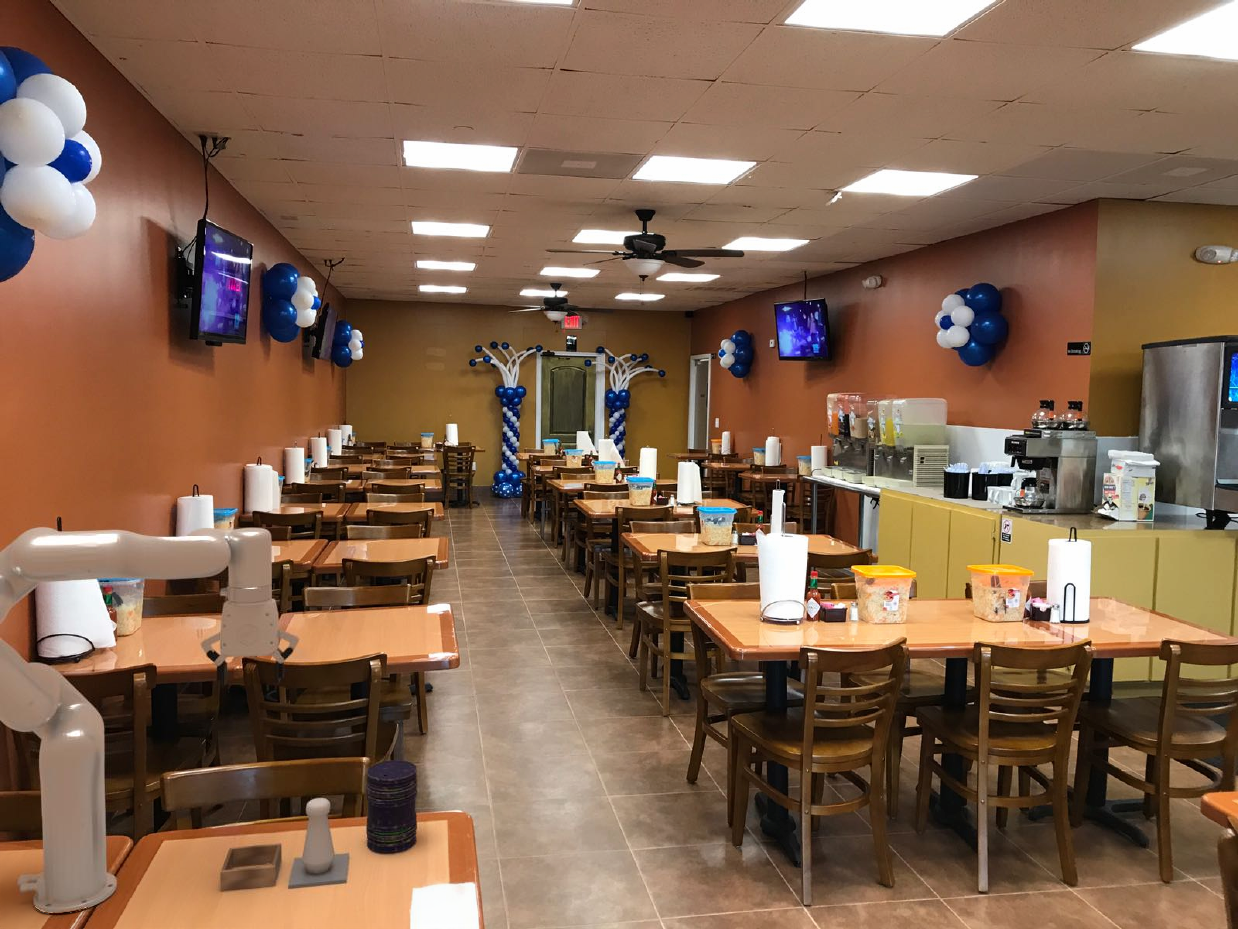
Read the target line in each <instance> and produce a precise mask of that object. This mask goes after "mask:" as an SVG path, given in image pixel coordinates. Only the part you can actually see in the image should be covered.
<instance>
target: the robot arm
mask: <svg viewBox="0 0 1238 929" xmlns="http://www.w3.org/2000/svg"><path fill="white" fill-rule="evenodd" d="M272 553H273V552H272V534H271V532H270V531H269V530H268V529H266V528H262V527H243V528H237V529H226V528H225V529H224V528H223V529H222V528H211V527H201V528H197V529H194V530H193V531H191V532H189V533H188V534H187V535H186V536H155V535H154V536H153V535H145V534H144V535H143V534H139V533H136V532H134V531H133V532H132V531H129V530H122V529H105V530H104V529H102V530H100V529H99V530H97V529H96V530H79V531H78V530H75V531H74V530H73V531H66V530H65V531H59V530H57V529H54V528H52V527H47V526H42V527H41V526H39V527H35V528H30V529H28V530H26V531H25V532H23V533H21V534H19V536H18V537H16V539H14V540H13V541H12V542H11V543H10V544H8V545H7V546H6V547H5V548H4V549H3V550H1V552H0V625H1V624H2V623H3V622H4V621H5V619H6V617H7V616H8V614H9V612H10V611H11V609H12V608H13V607H14V606H15V605H16V604H18V603H19V602H20V601H21V600H22V599H23V598H25V597H26V596H27V595H29V593H31V592H32V591H33V590H34V589H35V588H37V587H38V586H39V585H40V584H41V583H49V582H50V583H52V582H69V581H85V580H89V581H90V580H105V579H124V580H125V579H126V580H181V579H196V578H197V579H198V578H199V579H200V578H207V577H213V576H216V575H218V574H220V573H222V572H223V571H224V570H225V569H226V568H227V567H228V586H227V587H224V588H220V591H219V593H220V594H219V595H220V596H221V597H226V598H227V600H226V601H225V602H224V603H223V607H222V614H221V621H220V632H219V631H218V632H217V633H215V634H213V635H211V636H209V637H207V638H205V639H204V640H202V641H201V643H200V646H201V649H202V650H203V652H204V653H205V655H206V657H207V658H208V659H209V660H210V661H211V662H213V663H214V665H215V666H216V682H219V686H220V688H221V687H225V686H226V685H227V683H228V662H227V661H226V659H227V658H229V657H230V658H232V657H233V658H239V657H260V656H261V657H262V656H272V658H274V660H275V663H274V684H276V685H279V684H280V683H281V680H282V679H284V678H285V661H286V660H287V659H288V658H289V657H290V656H291V655H292V654H293V652H294V651H295V649H296V648H297V645H298V643H299V642H300V638H299V636H297V635H294V634H292V633H289V632H287V631H286V630H283V629H281V628H280V622H279V620H280V619H279V612H278V606H277V602H276V599H275V598H272V597H273V596H272V595H273V592H272V591H273V590H272V588H273V587H272V585H273V583H272V581H273V580H272V578H273V577H272V575H273V574H272V571H273V570H272V567H273V566H272V561H273V560H272V559H273V558H272V556H273V555H272ZM281 639H282V640H284V641H286V642H288V643H289V644H288V646H287V648H285V649H284V650H282V649H281V648H280V647H279V646H280V640H281ZM216 642H219V650H220V654H219V652H217V650H215V649H214V648H213V646H212V645H213V644H216ZM0 721H1V723H3V725H5V726H6V727H8V728H10V729H11V730H14V731H17V732H23V733H26V732H27V733H28V732H33V733H34V734H36V735H37V737H39V739H40V740H41V741H40V748H39V755H38V756H39V758H38V764H39V765H38V768H39V780H40V793H41V794H40V796H41V798H40V801H41V817H42V818H41V820H42V822H41V823H42V852H43V853H42V854H43V855H42V857H43V859H42V860H43V871H40V872H39V873H36V874H30V873H29V874H22V875H18V876H19V877H18V879H17V887H18V888H19V892H20V893H28V892H35V895H34V896H33V906H34V905H35V906H36V907H37V908H39V909H40V910H43V911H45V912H50V913H51V912H61V911H70V910H76V909H79V908H81V907H88V908H87V909H89V908H92V907H93V906H96V905H98V904H100V903H102V902H104V901H105V900H107V899H109V897H111V896H112V895H113V894H114V892H115V891H116V890H117V887H118V886H117V884H118V879H117V876H115V875H114V874H112V873H110V872H107V832H106V831H107V830H106V826H107V825H106V794H105V793H106V791H105V790H106V789H105V783H106V782H105V724H104V720H103V717H102V715H101V714H100V713H99V711H98V709H97V708H95V707H94V705H93V704H92V703H91V702H90V701H88V699H87V698H86V697H85V696H84V695H83V694H82V693H81V692H79V690H77V689H76V688H75V686H73V684H71V683H70V682H69V681H68V679H66V678H65V676H63V674H61V673H60V672H59V671H58V670H56V669H55V668H53V667H52V666H50V665H49V664H45V663H42V662H27V661H26V660H25V659H24V658H23V657H22V656H21V655H20V653H19V652H18V651H17V650H16V649H14V648H13V647H12V646H11V645H9V643H7V642H6V641H5V640H4V639H3V638H2V637H1V636H0Z"/></svg>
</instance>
